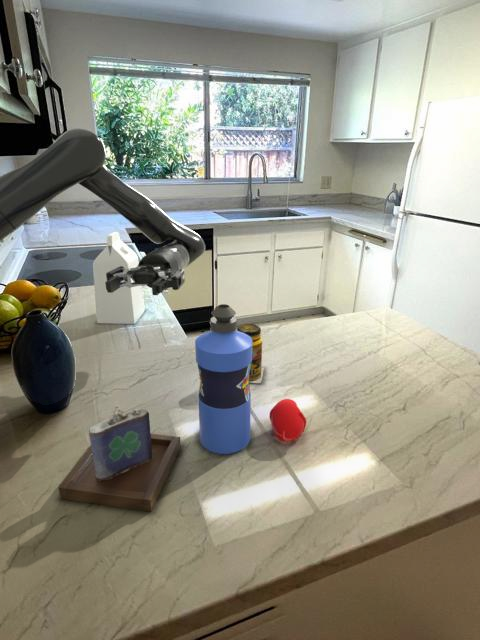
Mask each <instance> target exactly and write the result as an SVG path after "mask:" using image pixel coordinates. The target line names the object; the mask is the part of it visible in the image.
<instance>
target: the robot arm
mask: <svg viewBox="0 0 480 640" xmlns="http://www.w3.org/2000/svg"><path fill="white" fill-rule="evenodd" d="M106 158H107V151H106V147H105V144H104V142H103V140H102V139H101V138H100V137H99V136H98V135H97V134H96V133H94V132H93V131H90V130H88V129H85V128H71V129H68V130H66V131H65V132H63V133H61V134H60V135H59V136H58V137H57V138H56V139H55V140H54V141H53V143H52V144H51V145H50V146H48V147H47V148H46V149H44V150H43V151H42V152H41V153H40V154H38V155H37V156H36V157H34V158H33V159H31V160H30V161H28V162H27V163H25V164H22V165H21V166H18V167H16V168H15V169H11V170H10V171H8V172H6V173H4V174H1V175H0V242H1V241H2V240H4V239H5V238H7V237H9V236H10V235H11V234H12V233H14V232H15V231H16V230H18V229H19V228H20V227H22V226H23V225H24V224H26V223H27V222H29V220H31V219H32V218H33V217H34V216H35V215H38V213H39V212H40V211H41V210H42V209H44V208H45V207H46V206H47V205H48V204H49V203H50V202H51V201H53V199H55V198H56V197H58V196H59V195H60V194H62V193H63V192H65V191H67V190H68V189H70V188H73V187H74V186H76V185H80V186H82V188H85V189H86V190H88V191H90V192H91V193H92V194H94V195H96V196H97V197H98V198H100V199H101V200H102V201H104V202H105V203H106V204H107V205H109V206H110V207H111V208H113V210H115V211H116V212H117V213H119V214H120V215H121V216H122V217H123V218H124V219H126V220H127V221H128V222H129V223H130V224H131V225H132V226H134V227H135V228H136V229H137V230H138V231H139V232H140V233H142V234H143V235H144V236H145V237H146V238H148V239H149V240H150V241H151V242H153V243H154V244H157V245H159V244H163V243H165V242H167V241H170V240H173V241H172V242H170V243H167V244H165V245H164V246H162V247H158V248H157V249H154V250H152V251H151V252H149V253H148V254H146V255H144V256H143V257H141V259H140V260H139V264H138V266H137V267H135V268H130V269H125V267H124V266H120V267H118V268H116V269H113V270H111V271H109V272H107V273H106V278H107V281H106V282H105V284H106V290H107V292H108V293H113V292H114V291H116V290H117V289H119V288H120V287H124V286H127V287H129V288H131V287H135V286H140V285H141V286H142V287H144V286H146V287H148V288H150V289H151V293H152V296H158V295H160V294H161V293H163V292H165V291H169V289H171V288H172V290H173V291H178V290H180V288H181V287H182V286H183V285H184V283H185V281H186V279H185V278H186V277H185V269H186V268H188V267H189V266H191V264H193V263H194V262H195V261H196V260H198V259H199V258H200V257H201V256H203V254H205V251H206V243H205V241H204V239H203V238H202V236H201V235H200V234H198V233H197V232H195V231H194V230H192V229H190V228H188V227H186V226H184V225H182V224H181V223H179V222H177V221H175V220H174V219H172V218H170V216H169V215H167V214H166V213H165V212H164V211H163V210H162V209H161V208H160V207H159V206H157V204H155V203H154V202H153V201H152V200H151V199H149V197H147V196H145V195H143V194H142V193H141V192H139V191H137V190H136V189H134V188H133V187H131V186H130V185H128V184H127V183H126V182H124V181H122V179H120V178H119V177H118V176H117V175H115V173H114V172H112V171H111V170H110V169H109V168H108V167H107V165H106V164H105V162H106ZM131 279H132V280H133V281H134V282H133V283H131ZM122 280H123V281H124V280H125V281H124V282H122V283H121V281H122Z"/></svg>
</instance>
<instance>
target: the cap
mask: <svg viewBox="0 0 480 640" xmlns="http://www.w3.org/2000/svg"><path fill="white" fill-rule="evenodd" d="M269 420H270V424H271V428H272V431H273V435H274V437H275V438H276V439H277V440H279V441H280V442H284V443H291V442H295V441H296V440H298V439H299V438H300V437H301V436H302V434H303V433H304V432H305V429H306V427H307V419H306V417H305V415H304V413H303V412H302V411H301V409H300V408H299V406H298V404H297V402H296V401H295V400H293V399H291V398H284V399H280V400H279V401H278V402H277V403H276V404H275V405H274V406H273V407H272V408H271V410H270V411H269Z"/></svg>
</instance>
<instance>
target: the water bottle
mask: <svg viewBox="0 0 480 640" xmlns="http://www.w3.org/2000/svg"><path fill="white" fill-rule="evenodd" d="M210 315H212V316H211V318H210V320H209V321H210V330H209V331H207V332H204V333H202V334H200V335H198V336H197V338H195V341H194V347H195V348H194V349H195V350H194V351H195V362H196V364H197V369H198V374H199V388H198V389H199V390H198V395H197V397H198V398H197V399H198V400H197V401H198V423H199V424H198V425H199V441H200V444H201V445H202V446H203V448H205V450H207V451H209V452H211V453H215V454H218V455H230V454H235V453H237V452H239V451H242V450H243V449H245V448H246V447H247V446H248V445H249V443H250V440H251V409H252V407H251V405H252V404H251V403H252V401H251V400H252V399H251V396H252V395H251V389H250V383H249V381H248V380H249V373H250V366H251V361H252V338H251V337H250V336H248V335H247V334H245V333H242V332H239V331H237V328H238V318H237V317H236V316H235V315H237V312H236V311H235V310H234V309H233V308H232V307H231V306H230V305H228V304H219V305H217V306H216V307H215V308H214V309H213V310H211V314H210Z"/></svg>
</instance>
